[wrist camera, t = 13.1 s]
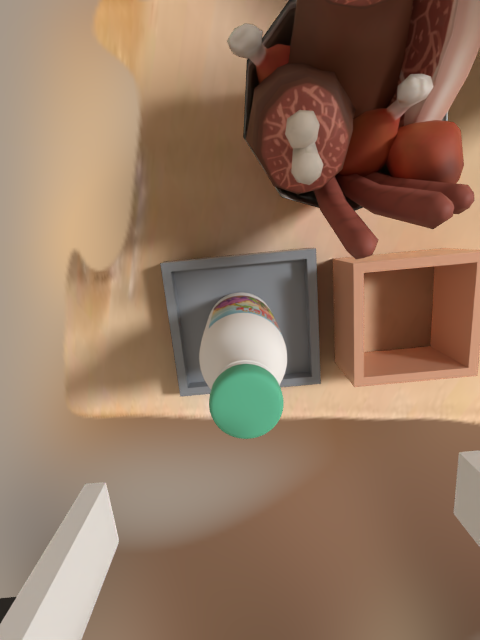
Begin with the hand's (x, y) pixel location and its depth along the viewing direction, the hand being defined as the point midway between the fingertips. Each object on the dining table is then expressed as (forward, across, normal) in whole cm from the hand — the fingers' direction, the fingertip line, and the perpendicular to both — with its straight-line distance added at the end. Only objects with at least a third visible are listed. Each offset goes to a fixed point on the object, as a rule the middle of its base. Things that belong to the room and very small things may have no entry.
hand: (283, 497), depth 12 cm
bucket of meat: (+29, +9, +18) cm, 35 cm away
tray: (+29, -1, -1) cm, 29 cm away
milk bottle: (+28, -1, -1) cm, 28 cm away
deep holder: (+29, +17, -1) cm, 33 cm away
